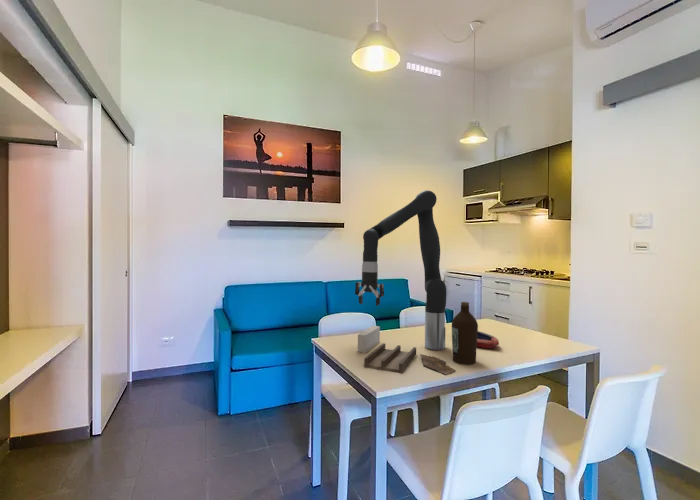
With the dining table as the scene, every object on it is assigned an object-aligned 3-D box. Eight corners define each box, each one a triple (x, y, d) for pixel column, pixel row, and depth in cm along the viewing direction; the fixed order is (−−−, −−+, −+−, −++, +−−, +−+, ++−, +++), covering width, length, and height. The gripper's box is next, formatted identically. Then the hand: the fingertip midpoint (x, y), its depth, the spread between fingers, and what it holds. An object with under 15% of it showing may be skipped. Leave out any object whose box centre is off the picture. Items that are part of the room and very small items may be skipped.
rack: (416, 355, 158) (416, 347, 158) (402, 372, 136) (402, 363, 136) (382, 350, 164) (382, 343, 164) (364, 366, 142) (364, 358, 142)
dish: (469, 334, 197) (469, 325, 197) (509, 350, 168) (509, 339, 167) (444, 336, 192) (444, 327, 192) (481, 353, 163) (481, 342, 163)
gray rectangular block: (379, 342, 179) (379, 326, 179) (365, 353, 161) (366, 335, 161) (372, 341, 181) (372, 325, 181) (357, 352, 162) (357, 334, 162)
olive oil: (472, 357, 156) (473, 300, 155) (481, 365, 145) (482, 304, 145) (448, 357, 156) (449, 300, 155) (455, 365, 145) (456, 304, 145)
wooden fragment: (460, 375, 135) (460, 372, 135) (432, 376, 133) (433, 373, 133) (435, 354, 160) (435, 352, 160) (411, 355, 158) (411, 353, 158)
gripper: (386, 271, 170) (385, 305, 170) (359, 269, 176) (359, 302, 177) (380, 272, 163) (379, 307, 163) (353, 270, 170) (352, 304, 170)
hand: (369, 304), depth 170 cm, fingers open, 8 cm apart
